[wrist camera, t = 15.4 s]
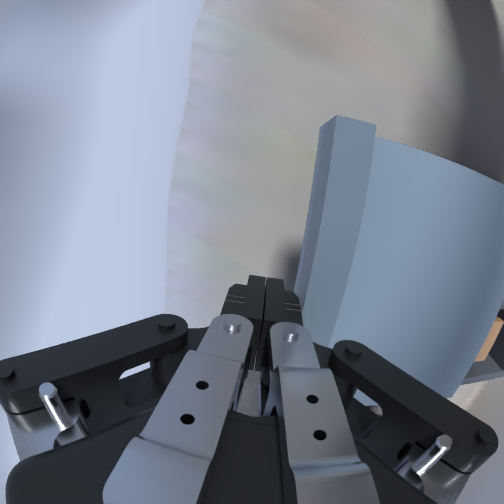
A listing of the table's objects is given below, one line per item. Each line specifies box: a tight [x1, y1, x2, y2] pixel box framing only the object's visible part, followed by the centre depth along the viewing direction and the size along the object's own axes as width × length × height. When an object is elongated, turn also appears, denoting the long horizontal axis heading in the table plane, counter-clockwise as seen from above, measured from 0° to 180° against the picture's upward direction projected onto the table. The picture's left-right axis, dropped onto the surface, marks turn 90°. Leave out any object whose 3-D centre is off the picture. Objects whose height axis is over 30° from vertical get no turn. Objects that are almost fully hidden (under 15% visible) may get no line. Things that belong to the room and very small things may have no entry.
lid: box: [294, 115, 504, 406], centre depth 12 cm, size 16×15×4 cm
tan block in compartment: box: [474, 316, 504, 362], centre depth 18 cm, size 4×4×6 cm
